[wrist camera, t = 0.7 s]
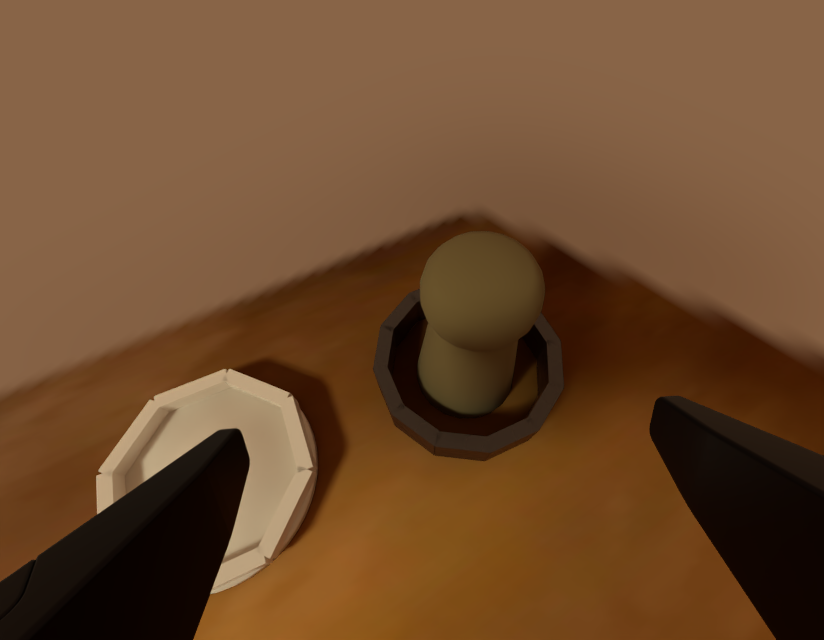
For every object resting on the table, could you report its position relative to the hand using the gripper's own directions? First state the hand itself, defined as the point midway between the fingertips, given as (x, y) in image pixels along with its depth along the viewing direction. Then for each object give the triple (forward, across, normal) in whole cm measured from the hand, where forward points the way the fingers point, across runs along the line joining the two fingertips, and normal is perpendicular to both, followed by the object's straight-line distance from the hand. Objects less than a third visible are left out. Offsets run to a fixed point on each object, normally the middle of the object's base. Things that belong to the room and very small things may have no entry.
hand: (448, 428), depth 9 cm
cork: (+14, -2, +8) cm, 17 cm away
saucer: (+10, +12, +11) cm, 19 cm away
